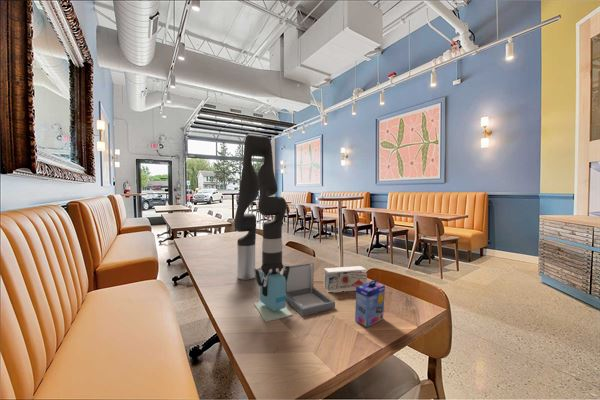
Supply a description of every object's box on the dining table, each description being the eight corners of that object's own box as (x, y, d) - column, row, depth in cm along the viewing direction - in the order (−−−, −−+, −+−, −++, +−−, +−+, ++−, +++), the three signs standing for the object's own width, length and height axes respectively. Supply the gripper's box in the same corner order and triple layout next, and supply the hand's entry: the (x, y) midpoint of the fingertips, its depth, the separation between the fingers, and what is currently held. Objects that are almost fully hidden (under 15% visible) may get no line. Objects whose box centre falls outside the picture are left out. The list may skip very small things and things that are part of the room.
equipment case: (283, 297, 103) (283, 266, 103) (312, 291, 110) (312, 262, 109) (302, 316, 87) (302, 280, 87) (335, 308, 93) (335, 274, 93)
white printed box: (327, 293, 108) (327, 272, 108) (323, 288, 114) (323, 268, 113) (368, 289, 113) (368, 269, 113) (362, 284, 118) (363, 265, 118)
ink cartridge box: (367, 328, 80) (368, 284, 79) (354, 321, 84) (354, 279, 84) (385, 319, 86) (385, 278, 85) (371, 312, 90) (372, 274, 90)
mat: (253, 303, 97) (253, 302, 97) (277, 299, 101) (277, 298, 101) (265, 321, 83) (265, 320, 83) (292, 315, 88) (292, 314, 88)
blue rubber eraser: (285, 309, 89) (286, 276, 89) (275, 312, 86) (275, 279, 86) (269, 297, 98) (269, 268, 98) (259, 300, 96) (259, 270, 96)
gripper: (286, 245, 98) (285, 287, 99) (250, 249, 92) (250, 293, 92) (293, 249, 92) (293, 294, 92) (256, 253, 85) (256, 301, 86)
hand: (272, 294), depth 92 cm, fingers closed on blue rubber eraser, 5 cm apart
